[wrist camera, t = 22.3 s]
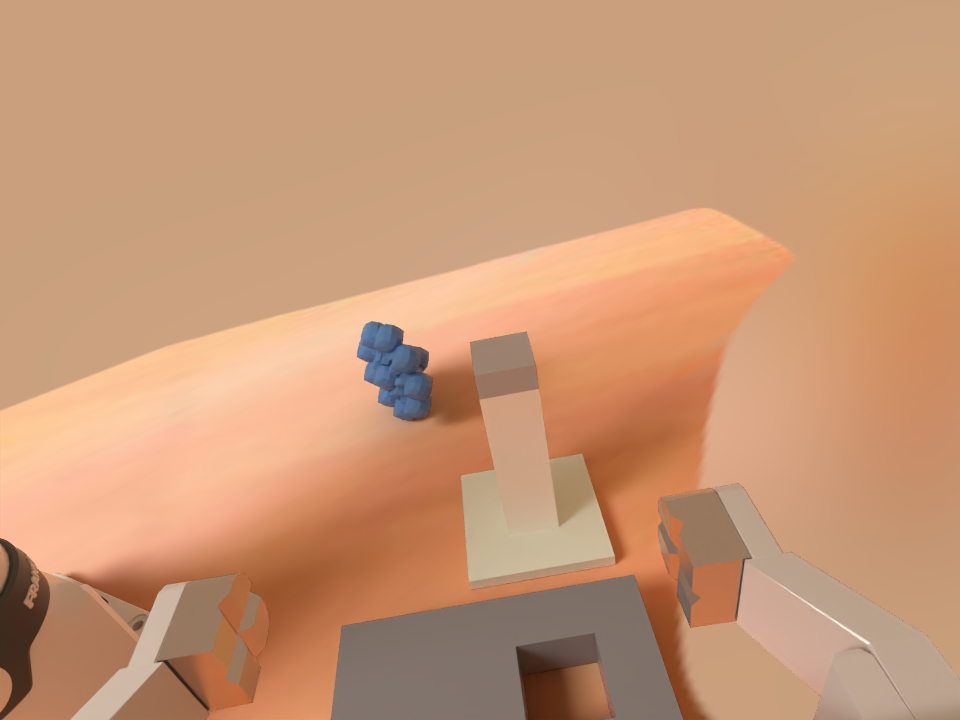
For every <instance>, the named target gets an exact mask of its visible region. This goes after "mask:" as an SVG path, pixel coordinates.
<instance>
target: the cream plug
mask: <svg viewBox="0 0 960 720" xmlns="http://www.w3.org/2000/svg"><path fill="white" fill-rule="evenodd" d="M470 346H471V355H472V363H473V372H474V378H475V383H476V387H477V392H478V397H479V401H480V406H481V410H482V415H483V419H484V424H485V428H486V433H487V438H488V442H489V447H490V451H491V456H492V460H493V465H494V469H495V474H496V479H497V483H498V488H499V492H500V497H501V501H502V506H503V510H504V515H505V520H506V524H507V529H508V533H509V536H511V535H517V534H523V533H529V532H534V531H540V530H546V529H551V528H557V527H559V523H558V517H557V510H556V503H555V496H554V489H553V482H552V475H551V468H550V461H549V454H548V447H547V440H546V433H545V426H544V419H543V413H542V406H541V399H540V392H539V385H538V378H537V371H536V364H535V360H534V357H533V353H532V349H531V346H530V342H529V338H528V334H527V332H522V333H516V334H511V335H505V336H500V337H495V338H489V339H484V340H479V341H473V342H470Z"/></svg>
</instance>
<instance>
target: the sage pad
mask: <svg viewBox="0 0 960 720" xmlns="http://www.w3.org/2000/svg"><path fill="white" fill-rule="evenodd" d="M549 461H550V468H551V475H552V482H553V489H554V496H555V503H556V510H557V517H558V523H559V527H557V528H551V529H546V530H540V531H534V532H529V533H523V534H517V535H511V536H509V533H508V529H507V524H506V520H505V515H504V510H503V506H502V501H501V497H500V492H499V488H498V483H497V479H496V474H495V469H493V470H488V471H482V472H477V473H471V474H466V475H461V485H462V498H463V512H464V525H465V538H466V551H467V565H468V578H469V584H470V588H471V590H472V589H478V588H484V587H489V586H495V585H501V584H506V583H512V582H518V581H524V580H529V579H535V578H541V577H546V576H552V575H558V574H563V573H569V572H575V571H580V570H586V569H592V568H598V567H603V566H609V565H615V555H614V552H613V548H612V545H611V542H610V539H609V536H608V533H607V530H606V526H605V523H604V520H603V517H602V514H601V511H600V508H599V505H598V501H597V498H596V495H595V492H594V489H593V486H592V483H591V479H590V476H589V473H588V470H587V467H586V464H585V461H584V457H583V454H582V453H581V454H576V455H570V456H565V457H559V458H554V459H549Z"/></svg>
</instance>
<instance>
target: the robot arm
mask: <svg viewBox="0 0 960 720" xmlns="http://www.w3.org/2000/svg"><path fill="white" fill-rule="evenodd" d="M658 511H659V514H660V516H661V519H662V522H661V523H660V525H659V526H658V533H659V542H660V548H661V552H662V556H663V559H664V562H665V565H666V568H667V570H668V573H669V575H670V576H672V577H673V578H675V579H676V580H677V581H678V586H677V596H678V598H679V601H680V603H681V606H682V608H683V611H684V613H685V616H686V618H687V620H688V623H689V625H690V628H691V627H698V626H705V625H712V624H719V623H726V622H733V621H737V624H738V625H739V626H740V627H741V628H742V629H744V630H745V631H746V632H747V633H748V634H749V635H751V636H752V637H753V638H754V639H755V640H756V641H757V642H759V643H760V644H761V645H762V646H763V647H764V648H765V649H766V650H768V651H769V652H770V653H771V654H772V655H773V656H775V657H776V658H777V659H778V660H779V661H780V662H781V663H782V664H784V665H785V666H786V667H787V668H788V669H789V670H790V671H792V672H793V673H794V674H795V675H796V676H797V677H798V678H800V679H801V680H802V681H803V682H804V683H805V684H807V685H808V686H809V687H810V688H811V689H812V690H813V691H814V692H816V693H817V694H818V695H819V696H820V700H819V704H818V707H817V710H816V713H815V716H814V719H813V720H960V679H959V678H958V676H957V675H956V674H955V672H954V671H953V670H952V668H951V667H950V666H949V664H948V663H947V662H946V660H945V659H944V657H943V656H942V655H941V653H940V652H939V650H938V649H937V648H936V646H935V645H934V644H933V642H932V641H931V640H930V638H929V637H928V635H926V634H924V633H923V632H921V631H919V630H918V629H916V628H915V627H913V626H911V625H909V624H908V623H906V622H905V621H903V620H901V619H900V618H898V617H897V616H895V615H893V614H892V613H890V612H888V611H887V610H885V609H884V608H882V607H880V606H878V605H877V604H875V603H874V602H872V601H871V600H869V599H867V598H865V597H864V596H862V595H861V594H859V593H858V592H856V591H854V590H853V589H851V588H849V587H848V586H846V585H845V584H843V583H841V582H840V581H838V580H836V579H835V578H833V577H832V576H830V575H828V574H827V573H825V572H823V571H822V570H820V569H818V568H817V567H815V566H813V565H812V564H810V563H809V562H807V561H806V560H804V559H802V558H801V557H799V556H797V555H796V554H794V553H793V552H788V553H783V551H782V550H781V548H780V546H779V545H778V543H777V542H776V540H775V538H774V537H773V535H772V533H771V532H770V530H769V528H768V527H767V525H766V523H765V522H764V520H763V518H762V517H761V515H760V513H759V512H758V510H757V509H756V507H755V505H754V504H753V502H752V500H751V499H750V497H749V495H748V494H747V492H746V491H745V489H744V487H743V486H741V485H740V484H738V483H737V484H731V485H726V486H720V487H715V488H706V489H701V490H696V491H691V492H685V493H680V494H675V495H670V496H665V497H660V499H659V501H658ZM251 585H252V582H251V581H250V580H249V578H248V577H247V575H246V574H245V573H240V574H233V575H226V576H220V577H213V578H206V579H200V580H193V581H187V582H181V583H175V584H169V585H165V586H164V587H163V588H162V589H161V591H160V592H159V593H158V595H157V597H156V600H155V602H154V604H153V607H152V609H151V612H148V611H146V610H144V609H141V608H139V607H137V606H135V605H132V604H130V603H128V602H125V601H123V600H121V599H118V598H116V597H114V596H111V595H109V594H107V593H104V592H102V591H100V590H97V589H95V588H93V587H90V586H89V585H88V584H83V583H81V582H79V581H76V580H74V579H72V578H69V577H67V576H65V575H62V574H59V573H51V574H48V573H45V572H41V571H39V570H38V569H37V568H36V565H35V563H34V562H33V561H32V560H31V559H30V558H29V557H28V556H27V555H26V554H25V553H24V552H23V551H21V550H19V549H18V548H16V547H15V546H13V545H12V544H11V543H9V542H8V541H7V540H4V539H1V538H0V720H206V718H207V717H208V716H209V712H208V711H213V710H218V709H223V708H228V707H233V706H238V705H243V704H248V703H253V699H254V695H255V690H256V686H257V682H258V677H259V673H260V669H261V667H260V665H259V663H258V661H257V660H256V658H255V657H256V656H257V655H258V654H259V653H260V651H261V650H262V649H263V648H264V646H265V645H266V641H267V637H268V632H269V616H268V611H267V608H266V604H265V603H264V601H263V599H262V598H261V596H259V595H256V594H254V593H252V592H250V589H251ZM139 628H140V629H139ZM138 629H139V630H138Z"/></svg>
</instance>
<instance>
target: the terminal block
mask: <svg viewBox="0 0 960 720" xmlns="http://www.w3.org/2000/svg"><path fill="white" fill-rule="evenodd" d="M596 662H598V665H599V669H600V673H601V677H602V681H603V685H604V689H605V693H606V697H607V701H608V705H609V709H610V713H611V717H612V718H609V719H603V720H683V717H682V715H681V712H680V709H679V706H678V703H677V700H676V697H675V694H674V691H673V688H672V685H671V682H670V679H669V676H668V673H667V670H666V667H665V664H664V662H663V659H662V656H661V653H660V650H659V647H658V644H657V641H656V638H655V635H654V632H653V629H652V626H651V623H650V620H649V617H648V614H647V611H646V609H645V606H644V603H643V600H642V597H641V594H640V591H639V588H638V585H637V582H636V579H635V576H634V575H630V576H625V577H619V578H613V579H608V580H602V581H596V582H590V583H585V584H579V585H573V586H567V587H562V588H556V589H550V590H545V591H539V592H533V593H527V594H522V595H516V596H510V597H505V598H499V599H493V600H487V601H482V602H476V603H470V604H465V605H459V606H453V607H447V608H442V609H436V610H430V611H425V612H419V613H413V614H407V615H402V616H396V617H390V618H385V619H379V620H373V621H367V622H362V623H356V624H350V625H345V626H342V629H341V638H340V646H339V655H338V663H337V672H336V681H335V689H334V698H333V706H332V715H331V720H529V716H528V709H527V702H526V695H525V688H524V681H523V675H526V674H531V673H537V672H543V671H549V670H555V669H561V668H567V667H572V666H578V665H584V664H590V663H596Z"/></svg>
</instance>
